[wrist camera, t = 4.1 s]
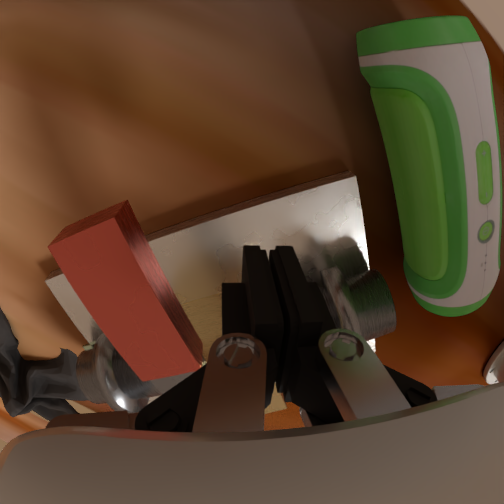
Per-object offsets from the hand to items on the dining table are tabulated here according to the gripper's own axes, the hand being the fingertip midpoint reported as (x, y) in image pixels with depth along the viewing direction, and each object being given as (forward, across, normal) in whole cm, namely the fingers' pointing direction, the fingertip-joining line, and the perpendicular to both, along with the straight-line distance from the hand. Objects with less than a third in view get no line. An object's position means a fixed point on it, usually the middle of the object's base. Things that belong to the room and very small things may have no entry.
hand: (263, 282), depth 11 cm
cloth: (+10, +24, +20) cm, 33 cm away
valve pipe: (+9, +1, +9) cm, 13 cm away
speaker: (+9, -11, -4) cm, 15 cm away
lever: (+2, +3, +4) cm, 5 cm away
